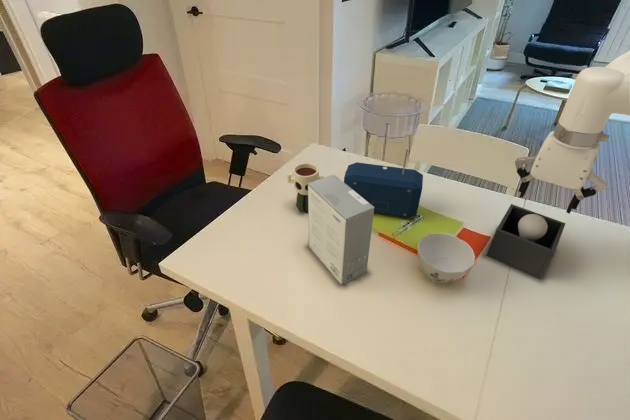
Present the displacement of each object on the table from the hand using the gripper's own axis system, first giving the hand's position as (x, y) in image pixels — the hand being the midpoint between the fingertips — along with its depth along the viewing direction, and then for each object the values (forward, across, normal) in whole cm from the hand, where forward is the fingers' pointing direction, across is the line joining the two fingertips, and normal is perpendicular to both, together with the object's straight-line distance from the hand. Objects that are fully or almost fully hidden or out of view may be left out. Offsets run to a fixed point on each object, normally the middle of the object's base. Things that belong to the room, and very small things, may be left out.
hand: (545, 202), depth 84 cm
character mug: (+15, +55, +18) cm, 60 cm away
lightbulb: (+16, 0, 0) cm, 16 cm away
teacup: (+16, +14, +18) cm, 28 cm away
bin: (+16, +1, 0) cm, 16 cm away
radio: (+16, +38, +6) cm, 42 cm away
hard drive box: (+15, +36, +30) cm, 50 cm away
